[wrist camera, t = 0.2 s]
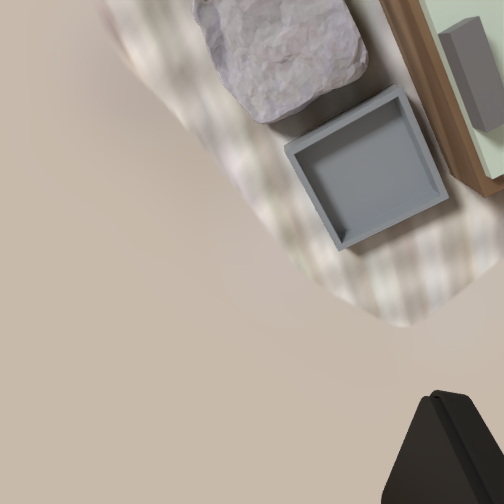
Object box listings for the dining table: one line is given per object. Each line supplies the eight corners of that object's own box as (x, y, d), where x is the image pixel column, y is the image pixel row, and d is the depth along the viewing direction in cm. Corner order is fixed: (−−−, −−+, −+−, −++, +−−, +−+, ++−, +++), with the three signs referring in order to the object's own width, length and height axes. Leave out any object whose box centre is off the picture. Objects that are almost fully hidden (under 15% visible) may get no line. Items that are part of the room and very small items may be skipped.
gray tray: (393, 84, 34) (402, 86, 32) (438, 189, 37) (449, 197, 35) (284, 145, 36) (284, 151, 34) (335, 240, 39) (338, 251, 37)
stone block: (267, 130, 38) (378, 63, 33) (254, 145, 34) (379, 70, 29) (187, -6, 34) (299, -100, 30) (161, -8, 30) (287, -118, 26)
